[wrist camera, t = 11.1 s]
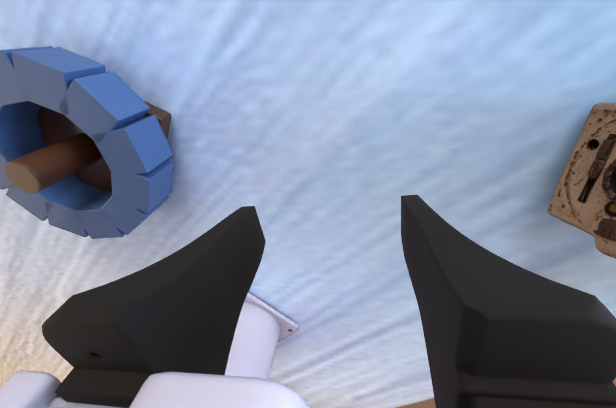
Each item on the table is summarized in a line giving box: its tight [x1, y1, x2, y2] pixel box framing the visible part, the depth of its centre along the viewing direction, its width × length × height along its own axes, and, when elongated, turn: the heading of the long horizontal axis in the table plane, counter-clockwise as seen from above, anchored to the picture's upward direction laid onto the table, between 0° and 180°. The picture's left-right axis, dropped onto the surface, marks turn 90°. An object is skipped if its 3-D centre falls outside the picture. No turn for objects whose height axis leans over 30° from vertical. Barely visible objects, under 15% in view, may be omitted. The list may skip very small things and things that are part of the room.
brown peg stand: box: [4, 47, 171, 193], centre depth 18 cm, size 9×9×6 cm
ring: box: [0, 46, 174, 239], centre depth 18 cm, size 12×12×3 cm
